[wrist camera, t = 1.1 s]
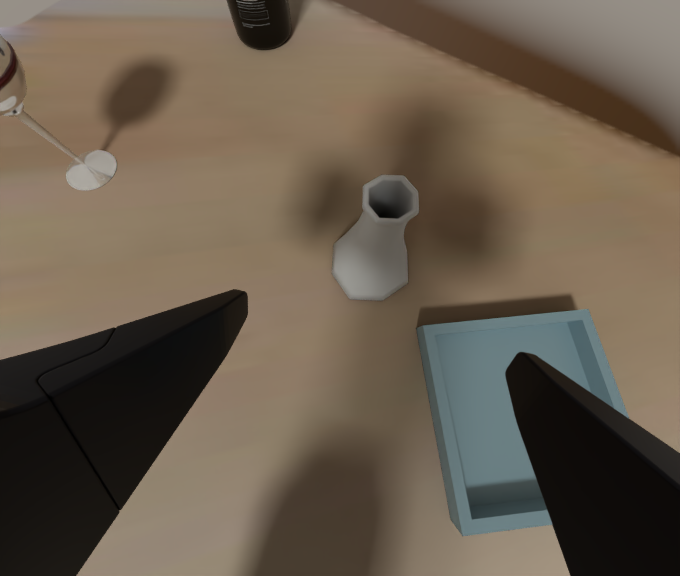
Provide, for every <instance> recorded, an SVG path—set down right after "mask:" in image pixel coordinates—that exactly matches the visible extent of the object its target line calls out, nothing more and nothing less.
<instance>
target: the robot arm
mask: <svg viewBox="0 0 680 576" xmlns="http://www.w3.org/2000/svg"><path fill="white" fill-rule="evenodd" d="M247 315H248V296H247V293H246V292H245V291H241V290H236V289H233V290H230V291H227V292H224V293H221V294H218V295H214V296H211V297H208V298H205V299H202V300H199V301H196V302H192V303H189V304H186V305H183V306H180V307H177V308H174V309H170V310H167V311H164V312H161V313H158V314H155V315H152V316H148V317H145V318H142V319H139V320H136V321H133V322H130V323H126V324H123V325H120V326H117V328H110V329H107V330H104V331H101V332H98V333H95V334H91V335H88V336H85V337H82V338H78V339H75V340H72V341H68V342H65V343H61V344H57V345H54V346H50V347H47V348H43V349H39V350H36V351H32V352H28V353H25V354H21V355H17V356H13V357H10V358H6V359H2V360H0V576H76V575H77V574H78V572H79V571H80V569H81V568H82V566H83V565H84V564H85V562H86V561H87V559H88V558H89V556H90V555H91V553H92V552H93V550H94V549H95V547H96V546H97V545H98V543H99V542H100V540H101V539H102V537H103V536H104V534H105V533H106V531H107V530H108V528H109V527H110V526H111V524H112V523H113V521H114V520H115V518H116V517H117V515H118V514H119V510H121V509H122V508H123V506H124V505H125V503H126V502H127V500H128V499H129V497H130V496H131V495H132V493H133V492H134V490H135V489H136V487H137V486H138V484H139V483H140V481H141V480H142V478H143V477H144V476H145V474H146V473H147V471H148V470H149V468H150V467H151V465H152V464H153V462H154V461H155V460H156V458H157V457H158V455H159V454H160V452H161V451H162V449H163V448H164V446H165V445H166V443H167V442H168V441H169V439H170V438H171V436H172V435H173V433H174V432H175V430H176V429H177V427H178V426H179V424H180V423H181V422H182V420H183V419H184V417H185V416H186V414H187V413H188V411H189V410H190V408H191V407H192V406H193V404H194V403H195V401H196V400H197V398H198V397H199V395H200V394H201V392H202V391H203V389H204V388H205V387H206V385H207V384H208V382H209V381H210V379H211V378H212V376H213V375H214V373H215V372H216V371H217V369H218V368H219V366H220V365H221V363H222V362H223V360H224V359H225V357H226V356H227V354H228V352H229V350H230V349H231V347H232V345H233V343H234V341H235V339H236V337H237V335H238V333H239V332H240V330H241V328H242V326H243V324H244V322H245V320H246V318H247ZM505 377H506V382H507V386H508V390H509V394H510V398H511V402H512V406H513V411H514V415H515V418H516V422H517V425H518V428H519V431H520V434H521V437H522V440H523V443H524V445H525V448H526V451H527V454H528V457H529V460H530V462H531V465H532V468H533V471H534V474H535V477H536V479H537V482H538V485H539V488H540V491H541V494H542V496H543V499H544V502H545V505H546V508H547V511H548V513H549V516H550V519H551V522H552V525H553V528H554V530H555V533H556V536H557V539H558V542H559V545H560V547H561V550H562V553H563V556H564V559H565V562H566V564H567V567H568V570H569V573H570V576H680V453H679V452H677V451H676V450H674V449H673V448H671V447H670V446H668V445H667V444H665V443H664V442H663V441H661V440H660V439H658V438H657V437H655V436H654V435H652V434H651V433H649V432H648V431H646V430H645V429H643V428H642V427H641V426H639V425H638V424H636V423H635V422H633V421H632V420H630V419H629V418H627V417H626V416H624V415H623V414H621V413H620V412H619V411H617V410H616V409H614V408H613V407H611V406H610V405H608V404H607V403H605V402H604V401H602V400H601V399H599V398H598V397H597V396H595V395H594V394H592V393H591V392H589V391H588V390H586V389H585V388H583V387H582V386H580V385H579V384H577V383H576V382H575V381H573V380H572V379H570V378H569V377H567V376H566V375H564V374H563V373H561V372H560V371H558V370H557V369H555V368H554V367H553V366H551V365H550V364H548V363H547V362H545V361H544V360H542V359H541V358H539V357H538V356H536V355H534V354H531V353H526V352H519V353H517V354H516V355H515V357H514V358H513V360H512V361H511V363H510V364H509V366H508V367H507V369H506V372H505Z"/></svg>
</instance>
